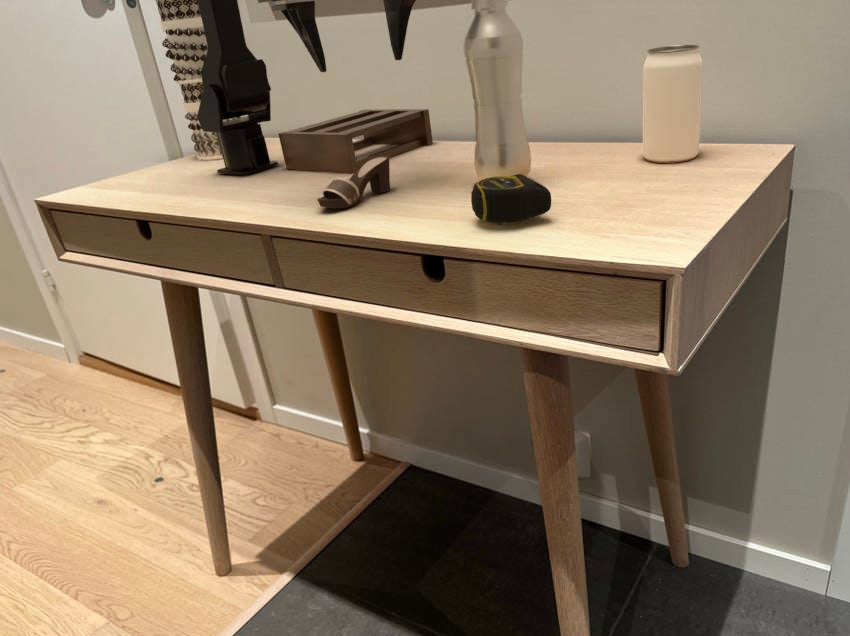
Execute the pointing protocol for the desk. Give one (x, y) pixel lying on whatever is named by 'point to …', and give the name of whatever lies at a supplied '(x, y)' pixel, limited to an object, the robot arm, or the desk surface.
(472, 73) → the plastic bottle
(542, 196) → the tape measure
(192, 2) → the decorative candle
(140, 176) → the desk surface
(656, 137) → the can
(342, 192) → the heeled mule
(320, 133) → the shoe rack
